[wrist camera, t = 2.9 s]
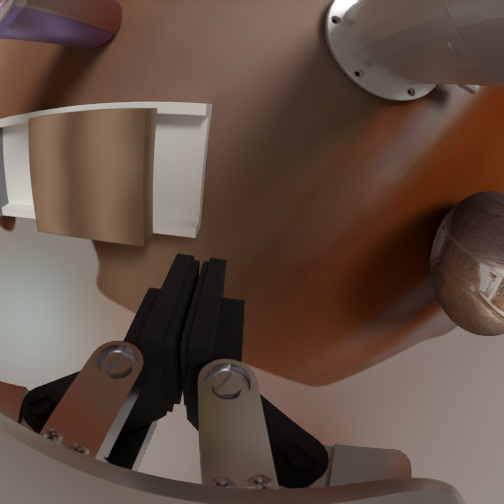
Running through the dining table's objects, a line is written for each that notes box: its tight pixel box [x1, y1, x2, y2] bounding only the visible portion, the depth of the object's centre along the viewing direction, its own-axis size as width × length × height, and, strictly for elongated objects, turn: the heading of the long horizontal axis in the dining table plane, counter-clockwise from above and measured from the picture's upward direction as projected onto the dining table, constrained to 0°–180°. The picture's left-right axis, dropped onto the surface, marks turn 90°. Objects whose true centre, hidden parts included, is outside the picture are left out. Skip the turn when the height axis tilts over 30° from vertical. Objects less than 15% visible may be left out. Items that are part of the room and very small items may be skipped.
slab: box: [28, 108, 157, 247], centre depth 22 cm, size 12×11×5 cm
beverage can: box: [0, 0, 122, 49], centre depth 11 cm, size 6×6×15 cm
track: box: [0, 102, 213, 238], centre depth 23 cm, size 28×12×5 cm, turn 82°
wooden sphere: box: [430, 191, 504, 336], centre depth 22 cm, size 15×15×15 cm
